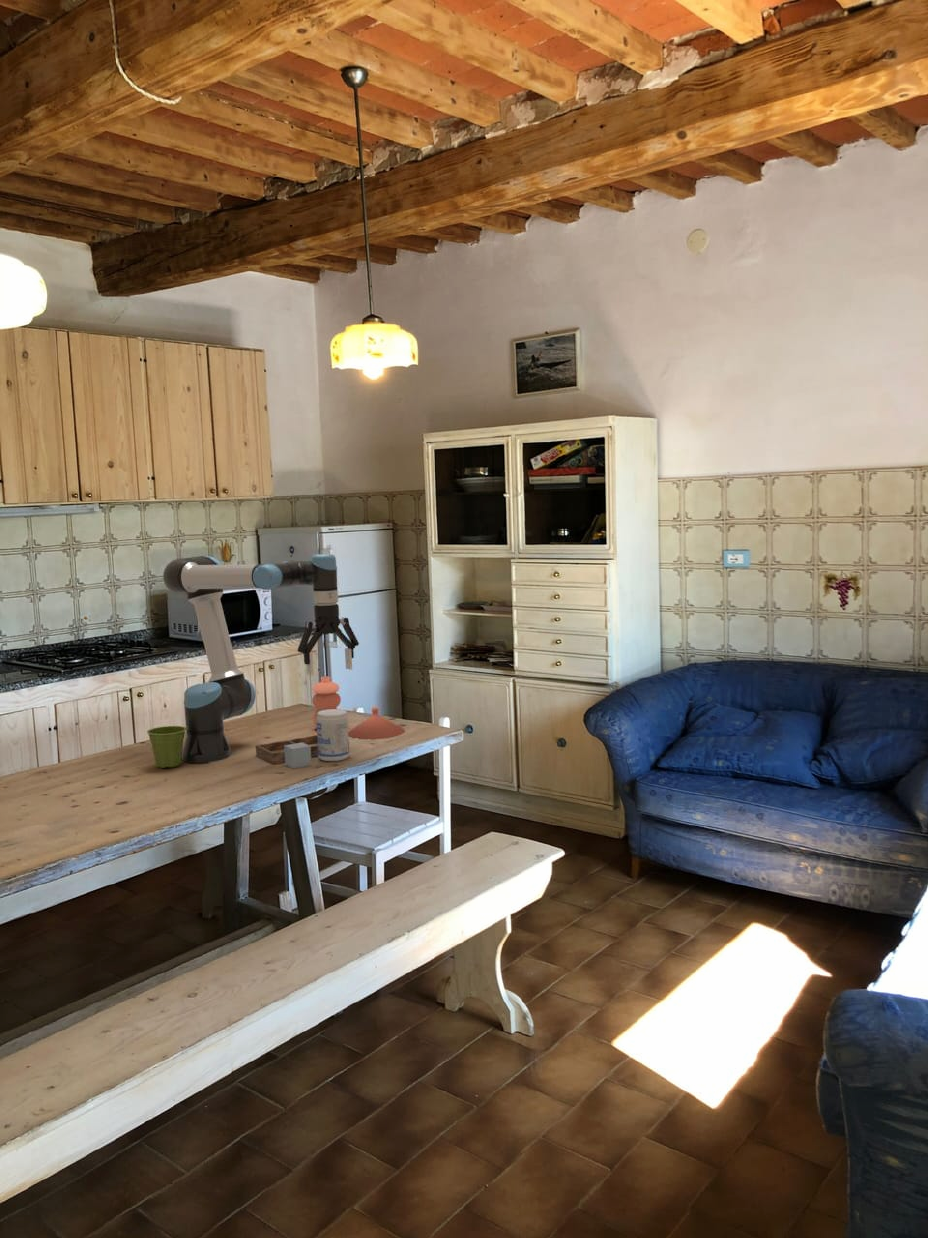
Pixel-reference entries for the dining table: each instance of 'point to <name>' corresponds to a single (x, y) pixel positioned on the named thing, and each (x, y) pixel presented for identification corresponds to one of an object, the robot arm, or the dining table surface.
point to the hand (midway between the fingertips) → (330, 671)
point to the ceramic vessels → (366, 730)
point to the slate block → (297, 755)
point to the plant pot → (167, 745)
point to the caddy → (277, 753)
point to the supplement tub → (332, 735)
